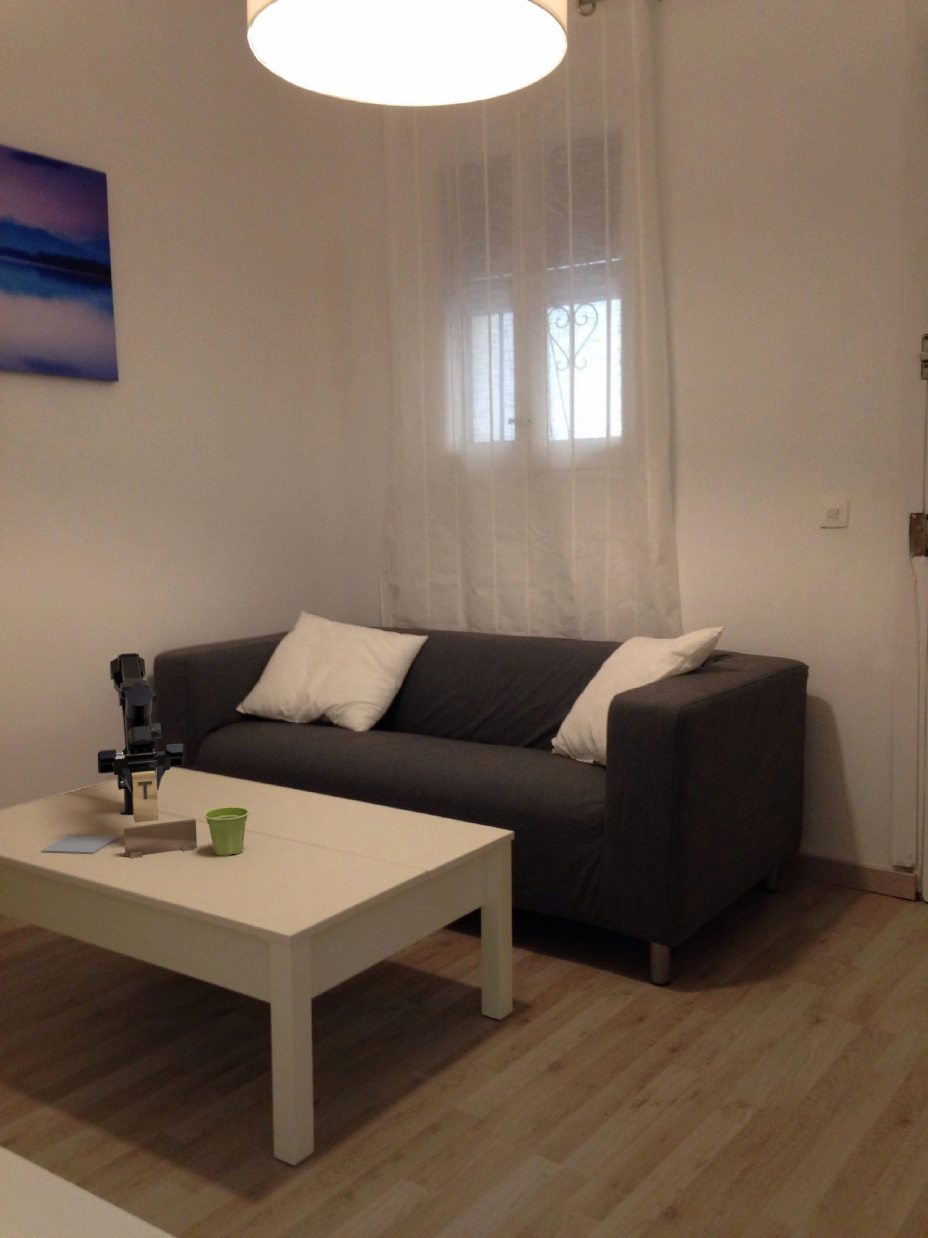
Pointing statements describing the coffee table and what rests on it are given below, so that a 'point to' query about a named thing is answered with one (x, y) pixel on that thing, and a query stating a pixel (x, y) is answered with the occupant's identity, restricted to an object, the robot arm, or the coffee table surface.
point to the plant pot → (227, 829)
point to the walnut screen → (160, 838)
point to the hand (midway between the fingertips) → (144, 790)
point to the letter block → (144, 796)
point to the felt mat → (80, 844)
